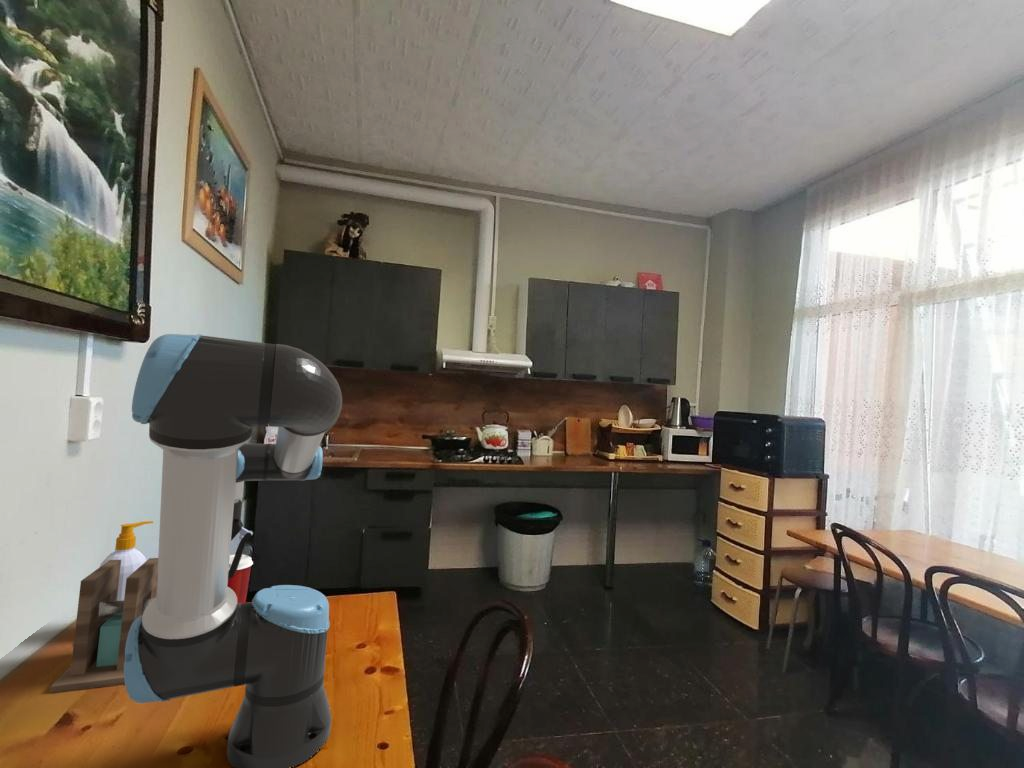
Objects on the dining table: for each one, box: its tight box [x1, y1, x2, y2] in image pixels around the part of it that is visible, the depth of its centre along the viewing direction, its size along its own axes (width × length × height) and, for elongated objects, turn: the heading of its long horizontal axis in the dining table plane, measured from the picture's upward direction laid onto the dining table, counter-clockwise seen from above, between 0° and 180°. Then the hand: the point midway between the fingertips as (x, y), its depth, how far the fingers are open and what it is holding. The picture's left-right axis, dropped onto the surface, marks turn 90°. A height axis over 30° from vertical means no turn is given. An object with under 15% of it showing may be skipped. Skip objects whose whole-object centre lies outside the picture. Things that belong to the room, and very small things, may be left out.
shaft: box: [98, 598, 155, 618], centre depth 96 cm, size 6×18×6 cm, turn 111°
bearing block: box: [49, 557, 158, 694], centre depth 95 cm, size 18×17×18 cm
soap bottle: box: [98, 520, 154, 601], centre depth 106 cm, size 9×9×24 cm
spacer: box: [96, 617, 122, 667], centre depth 94 cm, size 8×4×8 cm, turn 21°
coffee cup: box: [227, 554, 254, 604], centre depth 113 cm, size 8×8×15 cm
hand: (212, 610), depth 100 cm, fingers closed
